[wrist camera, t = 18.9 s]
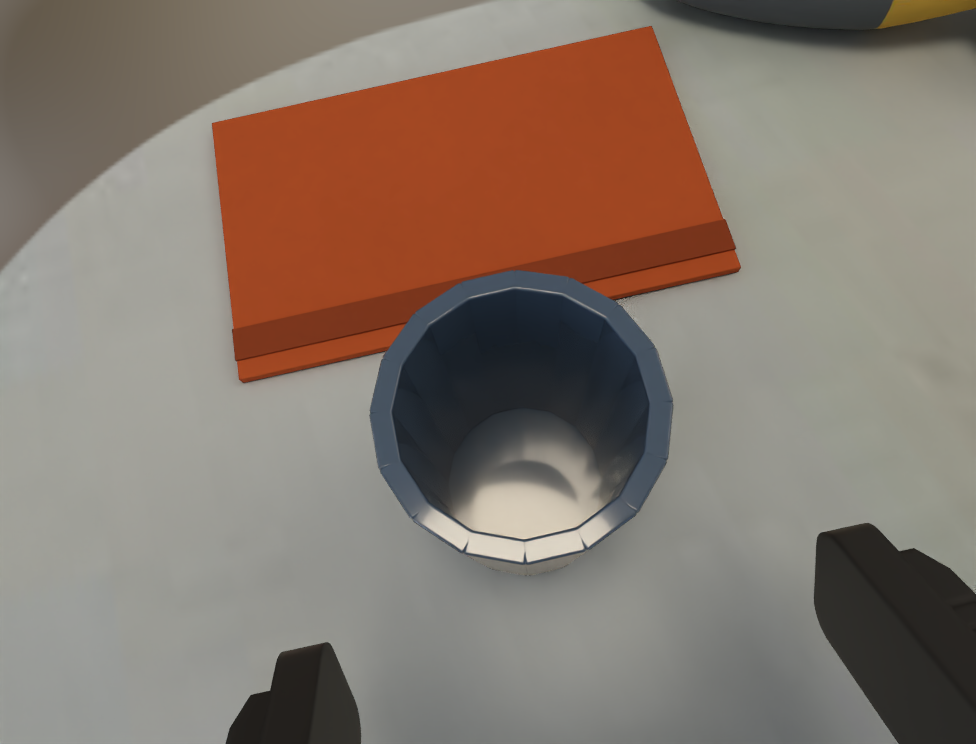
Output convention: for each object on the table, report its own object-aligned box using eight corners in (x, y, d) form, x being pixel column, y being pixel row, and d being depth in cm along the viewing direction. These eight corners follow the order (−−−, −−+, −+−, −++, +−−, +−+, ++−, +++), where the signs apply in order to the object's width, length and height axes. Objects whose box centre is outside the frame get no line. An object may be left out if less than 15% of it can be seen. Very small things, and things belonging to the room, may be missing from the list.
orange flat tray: (650, 32, 28) (652, 22, 27) (738, 272, 24) (742, 265, 24) (215, 129, 28) (209, 120, 27) (243, 383, 24) (237, 378, 24)
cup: (586, 384, 23) (623, 243, 14) (633, 552, 22) (712, 521, 12) (423, 421, 23) (350, 306, 14) (457, 593, 22) (399, 595, 12)
